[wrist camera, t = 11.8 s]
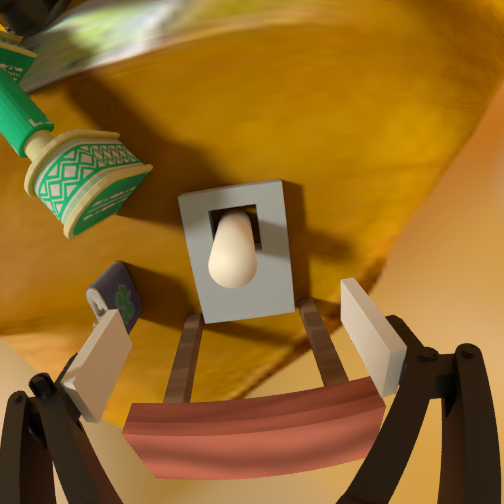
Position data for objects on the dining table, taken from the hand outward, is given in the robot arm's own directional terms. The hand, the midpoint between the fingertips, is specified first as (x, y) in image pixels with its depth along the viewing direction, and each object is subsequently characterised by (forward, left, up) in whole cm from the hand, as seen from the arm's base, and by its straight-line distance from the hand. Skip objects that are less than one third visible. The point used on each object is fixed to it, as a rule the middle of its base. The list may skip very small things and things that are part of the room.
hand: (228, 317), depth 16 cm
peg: (0, 0, -22) cm, 22 cm away
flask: (+7, -17, -23) cm, 29 cm away
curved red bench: (+11, 0, -22) cm, 25 cm away
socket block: (+4, 0, -22) cm, 23 cm away
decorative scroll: (-21, -23, -23) cm, 38 cm away
